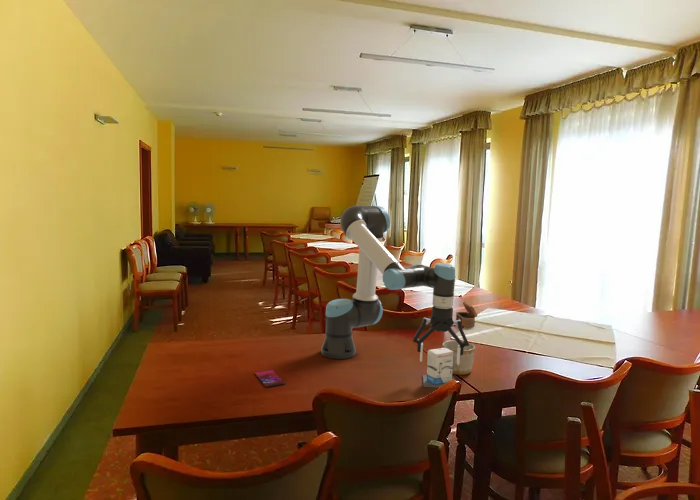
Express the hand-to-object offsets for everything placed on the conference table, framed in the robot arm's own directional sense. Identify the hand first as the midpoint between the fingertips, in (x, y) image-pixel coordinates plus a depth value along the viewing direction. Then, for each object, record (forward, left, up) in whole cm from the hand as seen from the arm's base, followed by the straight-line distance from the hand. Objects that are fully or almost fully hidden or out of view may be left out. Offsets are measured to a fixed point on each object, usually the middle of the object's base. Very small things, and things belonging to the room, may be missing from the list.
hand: (439, 362), depth 173 cm
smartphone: (-63, -8, -8) cm, 64 cm away
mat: (0, 0, -8) cm, 8 cm away
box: (+20, +87, -9) cm, 90 cm away
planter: (+8, +14, -8) cm, 18 cm away
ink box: (0, 0, -7) cm, 7 cm away
